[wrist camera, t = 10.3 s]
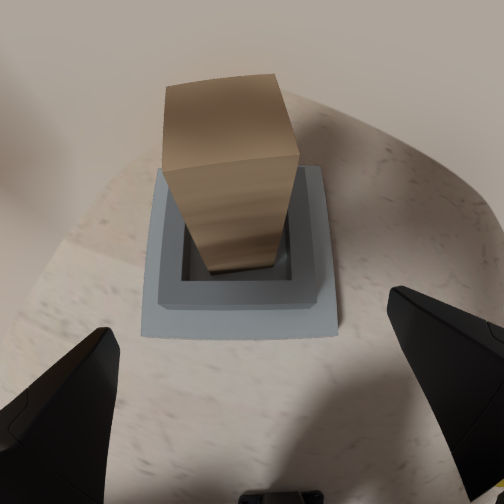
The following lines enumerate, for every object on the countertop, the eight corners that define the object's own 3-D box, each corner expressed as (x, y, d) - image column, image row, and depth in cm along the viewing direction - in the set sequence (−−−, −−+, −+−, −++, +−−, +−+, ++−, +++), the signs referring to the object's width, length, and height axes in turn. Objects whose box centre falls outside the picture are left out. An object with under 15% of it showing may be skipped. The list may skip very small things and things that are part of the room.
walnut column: (273, 267, 22) (300, 154, 9) (211, 275, 21) (161, 171, 9) (263, 211, 23) (274, 74, 11) (205, 219, 23) (166, 86, 11)
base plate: (332, 336, 21) (349, 332, 18) (147, 337, 21) (127, 333, 18) (317, 175, 26) (326, 147, 22) (162, 177, 26) (150, 151, 22)
